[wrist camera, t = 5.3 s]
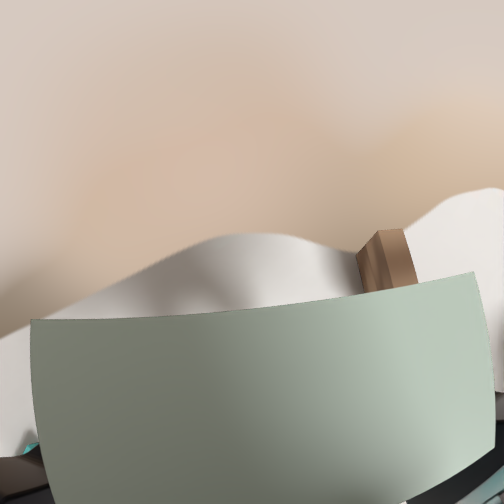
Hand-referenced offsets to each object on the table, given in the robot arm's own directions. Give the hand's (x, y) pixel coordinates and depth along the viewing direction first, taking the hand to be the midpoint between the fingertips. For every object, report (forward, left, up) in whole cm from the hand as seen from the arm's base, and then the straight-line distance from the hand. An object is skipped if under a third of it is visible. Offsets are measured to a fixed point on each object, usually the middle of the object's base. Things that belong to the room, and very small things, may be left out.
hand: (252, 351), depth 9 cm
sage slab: (-1, +1, -7) cm, 7 cm away
